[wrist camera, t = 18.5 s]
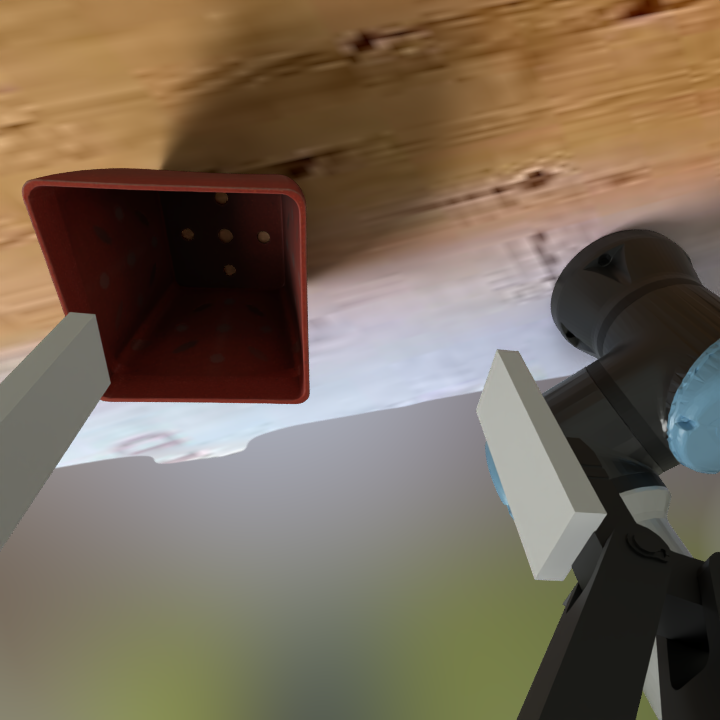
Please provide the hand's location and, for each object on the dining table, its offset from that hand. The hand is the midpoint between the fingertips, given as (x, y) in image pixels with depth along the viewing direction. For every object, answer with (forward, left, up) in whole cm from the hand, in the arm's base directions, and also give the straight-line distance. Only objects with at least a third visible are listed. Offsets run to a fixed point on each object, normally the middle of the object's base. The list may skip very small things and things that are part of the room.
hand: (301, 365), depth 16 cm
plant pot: (+10, +10, -37) cm, 40 cm away
